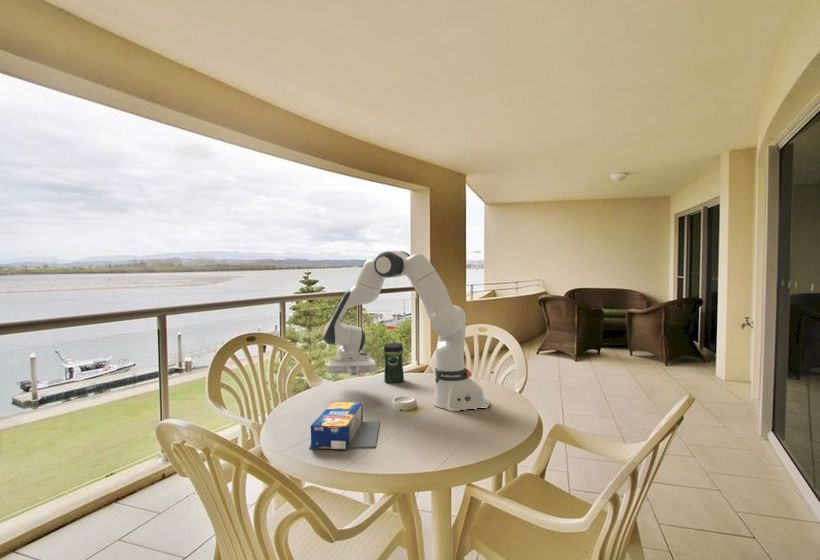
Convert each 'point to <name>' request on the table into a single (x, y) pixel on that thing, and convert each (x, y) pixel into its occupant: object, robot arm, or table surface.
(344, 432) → the blue cardboard box
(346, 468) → the table surface
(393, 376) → the coffee jar
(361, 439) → the mat
